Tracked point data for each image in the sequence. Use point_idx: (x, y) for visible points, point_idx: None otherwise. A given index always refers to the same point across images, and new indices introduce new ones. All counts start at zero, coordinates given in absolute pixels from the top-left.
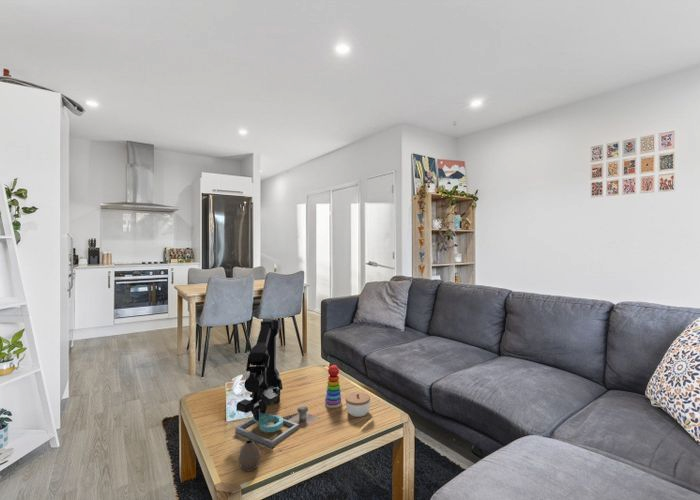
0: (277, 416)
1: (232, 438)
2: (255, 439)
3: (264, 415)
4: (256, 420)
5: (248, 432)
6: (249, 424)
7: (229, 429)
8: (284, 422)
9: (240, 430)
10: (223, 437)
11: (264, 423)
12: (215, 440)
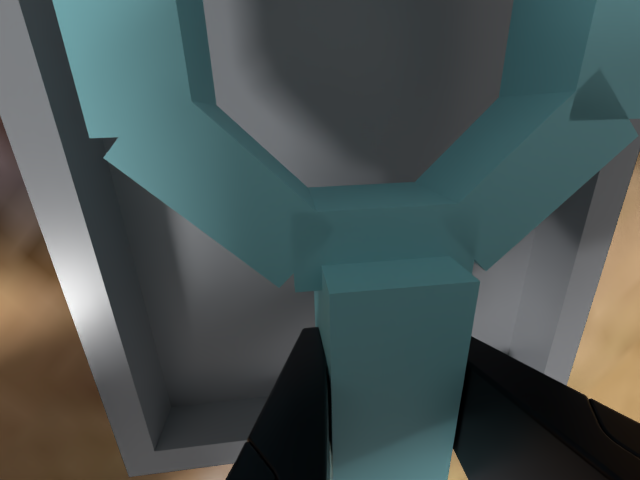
0: (120, 31)
1: None
2: None
3: (392, 292)
4: None
5: (606, 234)
6: None
7: None
8: (41, 4)
9: (566, 349)
10: (584, 394)
11: (405, 188)
12: (634, 402)
